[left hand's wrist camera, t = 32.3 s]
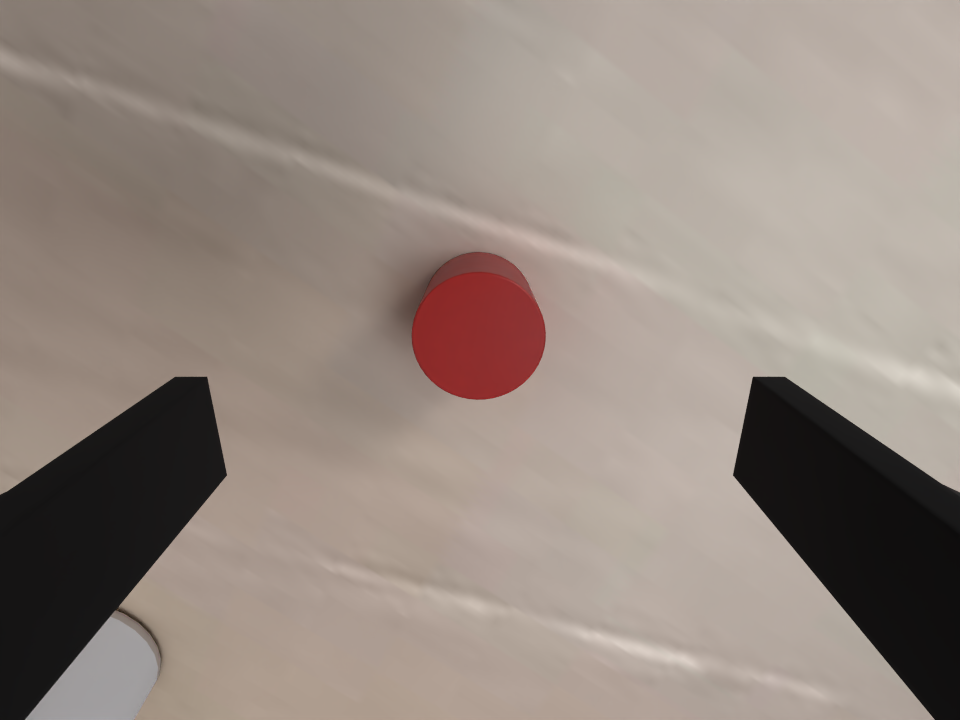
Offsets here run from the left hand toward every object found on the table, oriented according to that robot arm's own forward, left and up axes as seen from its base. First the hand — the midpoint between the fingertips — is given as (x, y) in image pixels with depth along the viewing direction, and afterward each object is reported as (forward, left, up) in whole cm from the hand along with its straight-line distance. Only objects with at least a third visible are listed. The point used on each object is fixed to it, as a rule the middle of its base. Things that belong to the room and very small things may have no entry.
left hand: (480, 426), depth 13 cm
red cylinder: (0, 0, -12) cm, 12 cm away
